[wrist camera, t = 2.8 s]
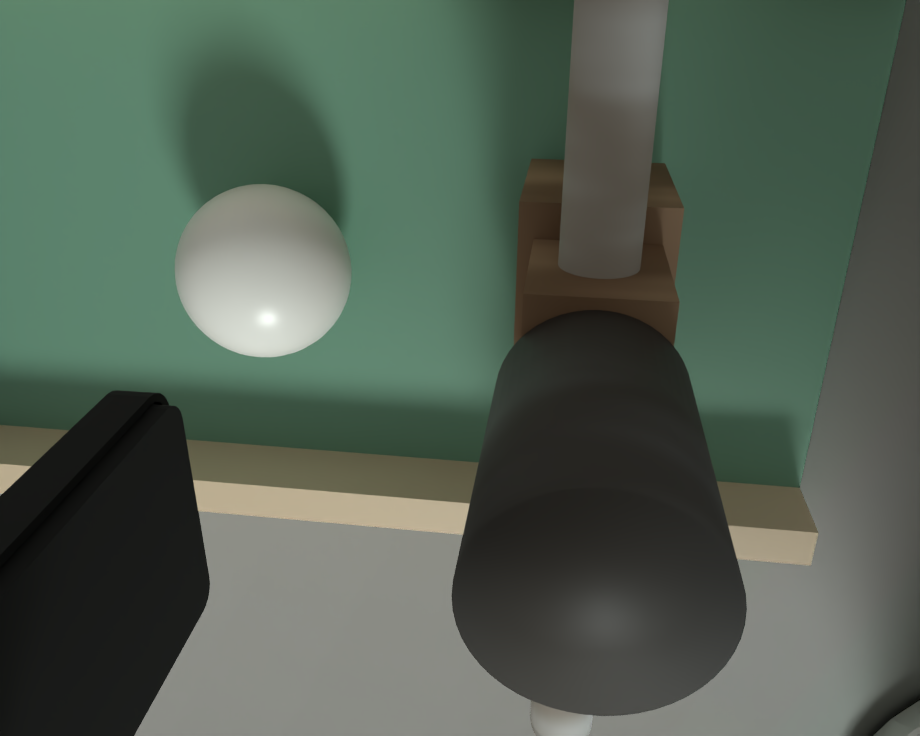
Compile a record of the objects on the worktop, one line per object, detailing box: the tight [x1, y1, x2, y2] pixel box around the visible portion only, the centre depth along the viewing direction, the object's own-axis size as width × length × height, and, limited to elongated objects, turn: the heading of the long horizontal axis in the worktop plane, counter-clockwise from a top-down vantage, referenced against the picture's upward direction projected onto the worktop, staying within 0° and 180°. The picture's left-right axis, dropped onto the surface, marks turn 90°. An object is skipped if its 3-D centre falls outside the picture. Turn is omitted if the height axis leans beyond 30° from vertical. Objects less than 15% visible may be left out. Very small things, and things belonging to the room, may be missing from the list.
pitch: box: [0, 0, 906, 566], centre depth 21 cm, size 30×14×3 cm, turn 89°
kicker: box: [452, 0, 747, 736], centre depth 15 cm, size 3×19×12 cm, turn 0°
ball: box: [175, 184, 352, 357], centre depth 19 cm, size 4×4×4 cm
